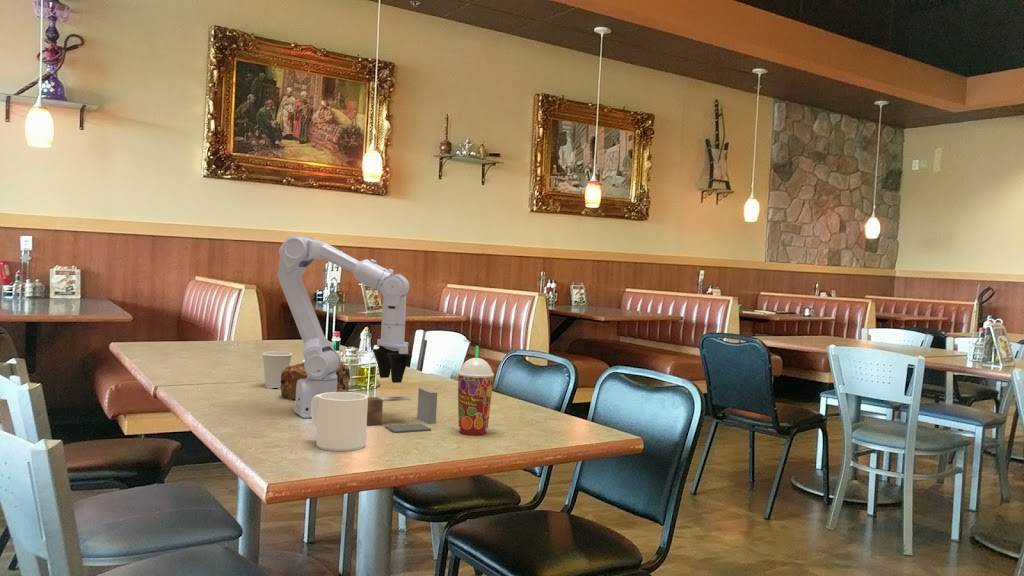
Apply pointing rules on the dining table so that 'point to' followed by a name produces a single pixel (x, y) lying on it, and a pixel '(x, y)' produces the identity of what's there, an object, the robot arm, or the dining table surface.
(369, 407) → the brown white angled block
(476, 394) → the smoothie
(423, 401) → the tile
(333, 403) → the mug
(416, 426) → the mat
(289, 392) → the bread
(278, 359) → the dixie cup
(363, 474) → the dining table surface
